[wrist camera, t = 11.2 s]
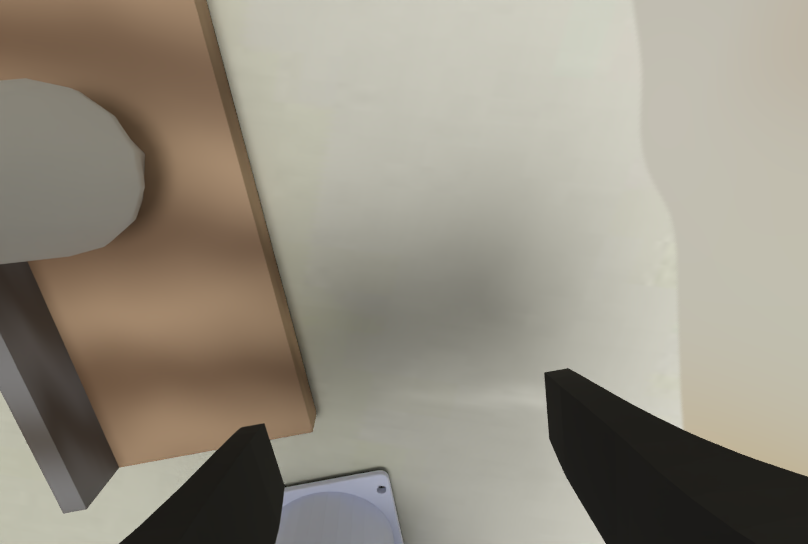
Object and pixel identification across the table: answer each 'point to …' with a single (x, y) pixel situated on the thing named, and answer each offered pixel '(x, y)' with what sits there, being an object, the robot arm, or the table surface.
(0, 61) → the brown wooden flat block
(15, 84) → the salt shaker
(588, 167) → the table surface
